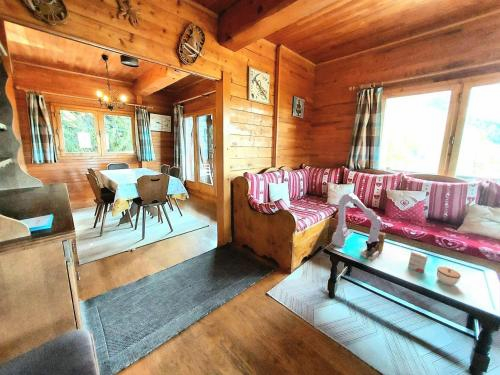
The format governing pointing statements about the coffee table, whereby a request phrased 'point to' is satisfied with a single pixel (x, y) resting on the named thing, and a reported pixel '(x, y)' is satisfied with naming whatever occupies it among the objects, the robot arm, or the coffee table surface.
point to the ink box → (417, 261)
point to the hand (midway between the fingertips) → (370, 249)
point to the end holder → (369, 256)
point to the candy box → (380, 242)
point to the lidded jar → (448, 276)
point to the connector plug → (370, 252)
